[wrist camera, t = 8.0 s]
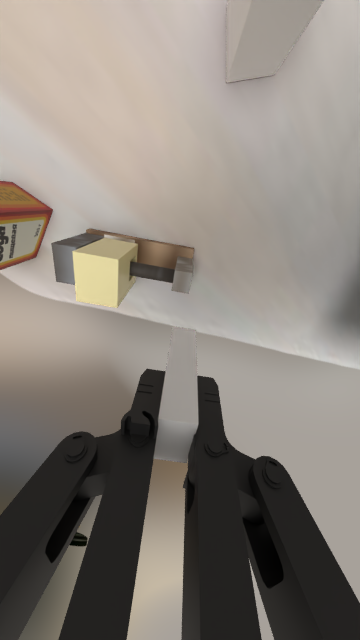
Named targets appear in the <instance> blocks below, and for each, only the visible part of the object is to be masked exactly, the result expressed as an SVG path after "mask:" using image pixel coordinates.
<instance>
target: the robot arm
mask: <svg viewBox="0 0 360 640" xmlns="http://www.w3.org/2000/svg"><path fill="white" fill-rule="evenodd" d="M153 459H161V460H168V461H175V462H183V463H187V460H188V472H187V475H186V478H185V481H184V485H183V488H185V489H186V490H185V492H186V493H185V527H184V565H183V606H182V607H183V608H182V640H262V639H261V633H260V628H259V627H260V626H259V620H258V614H257V608H256V601H255V595H254V588H253V582H252V576H251V570H250V563H251V566H252V570H253V573H254V576H255V579H256V582H257V586H258V589H259V592H260V595H261V598H262V602H263V605H264V608H265V611H266V614H267V618H268V621H269V624H270V627H271V630H272V633H273V637H274V640H360V603H359V601H358V599H357V597H356V596H355V594H354V592H353V590H352V588H351V586H350V585H349V583H348V581H347V579H346V577H345V575H344V574H343V572H342V570H341V568H340V567H339V565H338V563H337V561H336V559H335V557H334V556H333V554H332V552H331V550H330V548H329V547H328V545H327V543H326V541H325V539H324V537H323V535H322V534H321V532H320V530H319V528H318V526H317V525H316V523H315V521H314V519H313V517H312V515H311V514H310V512H309V510H308V508H307V507H306V504H305V503H304V501H303V499H302V497H301V495H300V494H299V492H298V490H297V488H296V486H295V484H294V483H293V481H292V479H291V477H290V475H289V474H288V472H287V471H286V470H285V468H284V467H283V465H281V464H280V463H279V462H278V461H277V460H275V459H273V458H271V457H269V456H261V457H259V458H257V459H256V460H255V459H253V458H251V457H249V456H247V455H245V454H243V453H241V452H239V451H237V450H236V449H235V448H234V447H233V446H232V445H231V444H230V443H229V442H228V440H227V438H226V436H225V432H224V426H223V419H222V412H221V405H220V397H219V390H218V385H217V384H216V382H215V380H214V379H213V378H209V377H203V376H197V353H196V330H193V329H187V328H180V327H174V326H173V328H172V335H171V341H170V347H169V354H168V360H167V366H166V372H165V371H158V370H152V369H146V371H145V372H144V373H143V374H142V375H141V377H140V381H139V384H138V387H137V391H136V394H135V398H134V401H133V404H132V408H131V410H130V411H129V412H127V413H126V414H125V415H124V417H123V418H122V420H121V429H120V430H119V431H117V432H115V433H113V434H110V435H106V436H101V437H96V438H95V437H94V436H93V435H91V434H90V433H88V432H76V433H73V434H71V435H69V436H67V437H66V438H65V439H64V440H62V441H61V442H60V443H59V444H58V446H57V447H56V448H55V450H54V451H53V452H52V453H51V454H50V455H49V457H48V458H47V459H46V460H45V462H44V463H43V464H42V465H41V466H40V468H39V469H38V470H37V471H36V472H35V474H34V475H33V476H32V477H31V479H30V480H29V481H28V482H27V483H26V485H25V486H24V487H23V488H22V490H21V491H20V492H19V493H18V494H17V496H16V497H15V498H14V499H13V501H12V502H11V503H10V504H9V506H8V507H7V508H6V509H5V510H4V511H3V513H2V514H1V515H0V640H18V639H19V637H20V635H21V633H22V631H23V629H24V627H25V626H26V624H27V622H28V620H29V618H30V616H31V614H32V612H33V611H34V609H35V607H36V605H37V603H38V601H39V600H40V598H41V596H42V594H43V592H44V590H45V589H46V587H47V585H48V583H49V581H50V579H51V577H52V576H53V574H54V572H55V570H56V568H57V566H58V565H59V563H60V561H61V559H62V557H63V555H64V553H65V551H66V550H67V548H68V546H69V544H70V542H71V541H72V539H73V537H74V535H75V533H76V531H77V529H78V528H79V526H80V524H81V522H82V520H83V518H84V517H85V515H86V513H87V511H88V509H89V507H90V505H91V503H92V502H93V500H94V498H95V496H98V495H102V494H103V495H102V499H101V502H100V505H99V508H98V512H97V515H96V518H95V521H94V525H93V528H92V531H91V535H90V538H89V541H88V544H87V548H86V551H85V555H84V558H83V561H82V564H81V567H80V571H79V574H78V577H77V581H76V584H75V587H74V590H73V594H72V597H71V600H70V604H69V607H68V610H67V613H66V617H65V620H64V624H63V627H62V630H61V633H60V637H59V640H126V639H127V632H128V626H129V619H130V612H131V606H132V599H133V592H134V586H135V579H136V571H137V566H138V559H139V552H140V545H141V539H142V532H143V525H144V519H145V512H146V505H147V498H148V492H149V485H150V478H151V472H152V465H153ZM249 560H250V563H249Z"/></svg>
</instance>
